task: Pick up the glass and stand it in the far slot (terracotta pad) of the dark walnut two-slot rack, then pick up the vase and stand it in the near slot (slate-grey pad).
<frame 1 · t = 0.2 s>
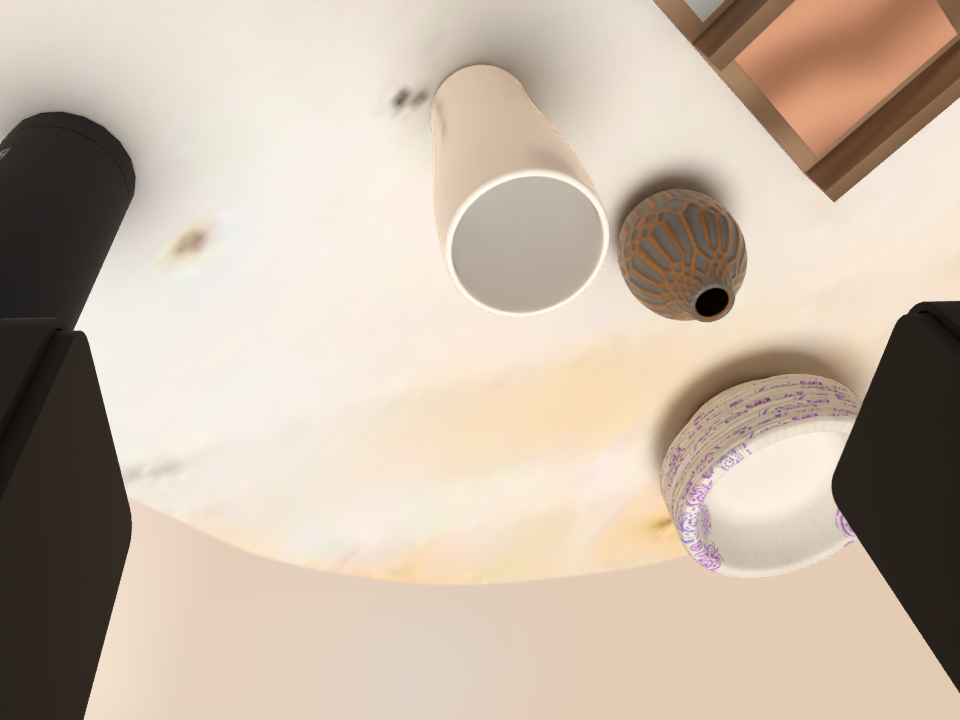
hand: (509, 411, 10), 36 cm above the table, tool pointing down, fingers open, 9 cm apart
paper bowls: (745, 427, 62), on the table
vase: (660, 223, 51), on the table
wine bottle: (71, 169, 44), on the table
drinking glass: (478, 110, 45), on the table
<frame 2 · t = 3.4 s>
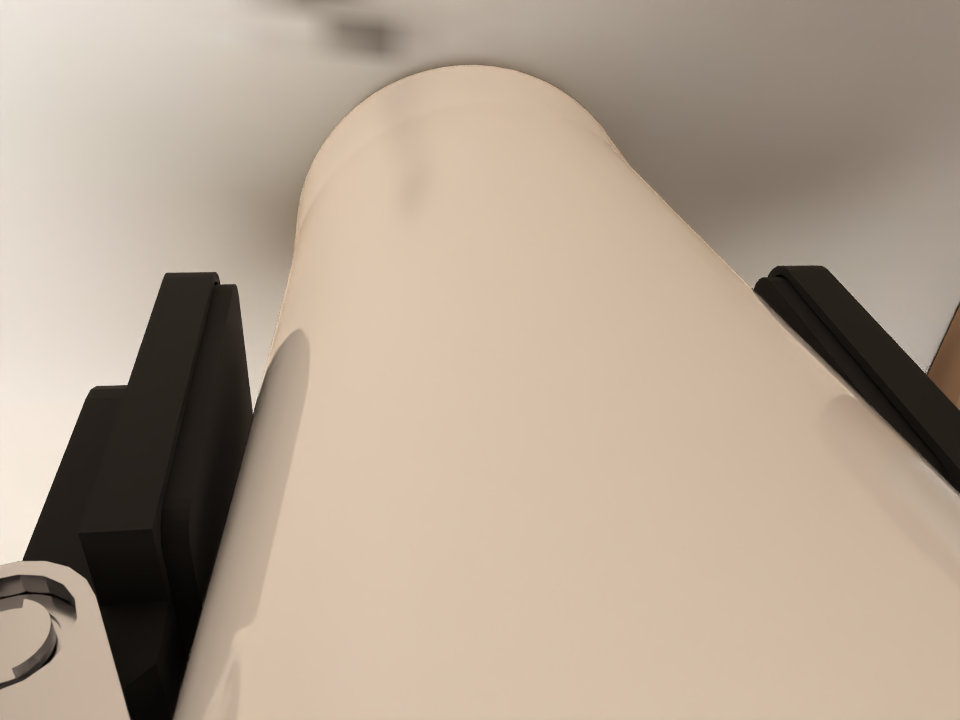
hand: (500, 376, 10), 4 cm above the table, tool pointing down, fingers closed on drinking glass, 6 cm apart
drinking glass: (460, 209, 14), on the table, touching gripper
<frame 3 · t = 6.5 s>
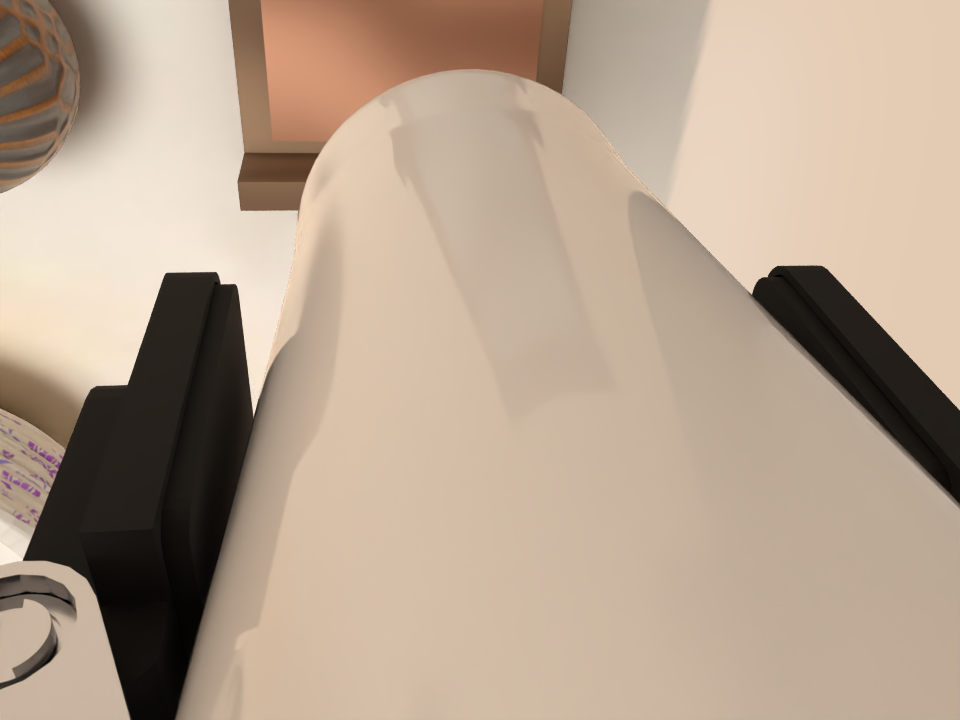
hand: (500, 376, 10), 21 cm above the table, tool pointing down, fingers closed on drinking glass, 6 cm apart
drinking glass: (460, 213, 14), point 17 cm above the table, touching gripper
when the fingers open (7 cm above the table, at t = 9.7 s): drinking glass drops 1 cm, resting on slot rack.
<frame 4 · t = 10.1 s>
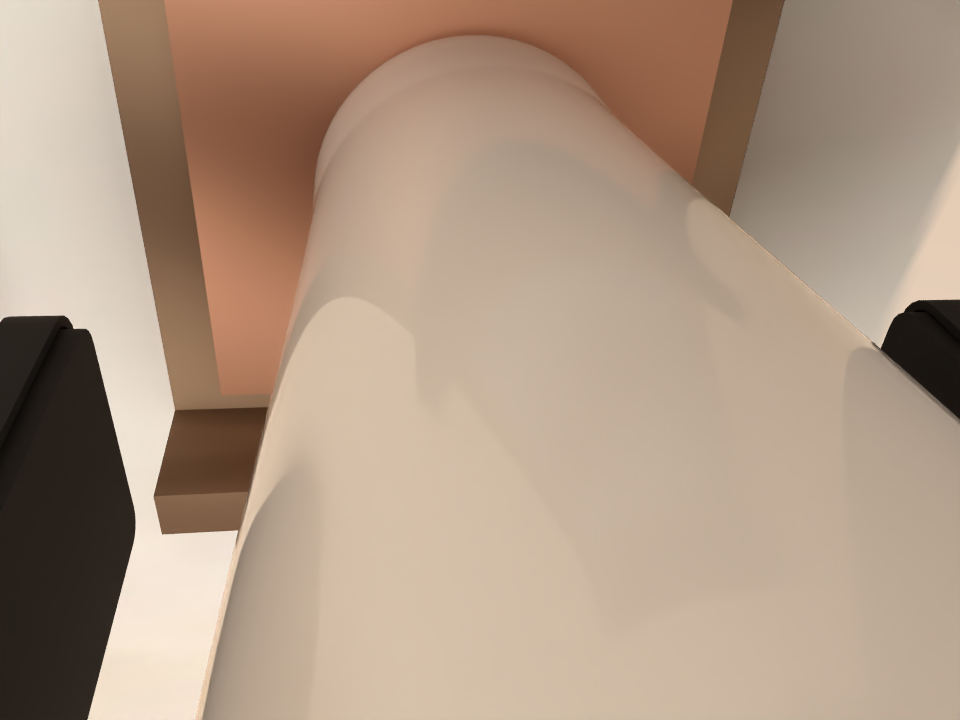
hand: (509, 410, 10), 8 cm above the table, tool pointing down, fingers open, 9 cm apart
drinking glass: (465, 174, 15), point 1 cm above the table, touching slot rack
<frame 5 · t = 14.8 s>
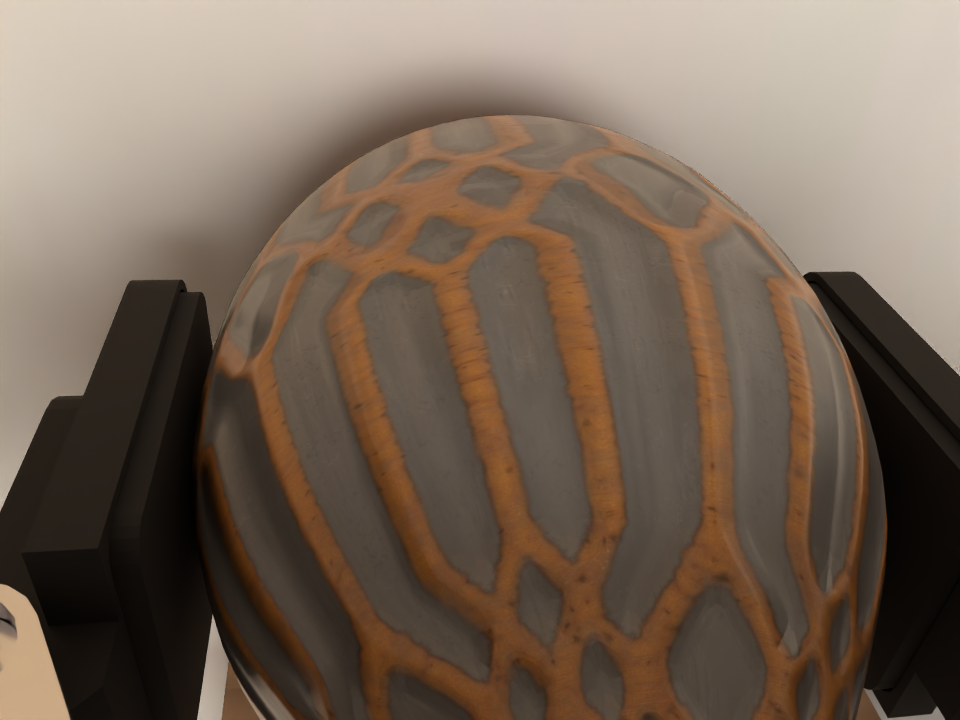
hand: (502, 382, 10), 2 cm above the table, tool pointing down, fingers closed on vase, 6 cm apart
vase: (476, 280, 12), on the table, touching gripper
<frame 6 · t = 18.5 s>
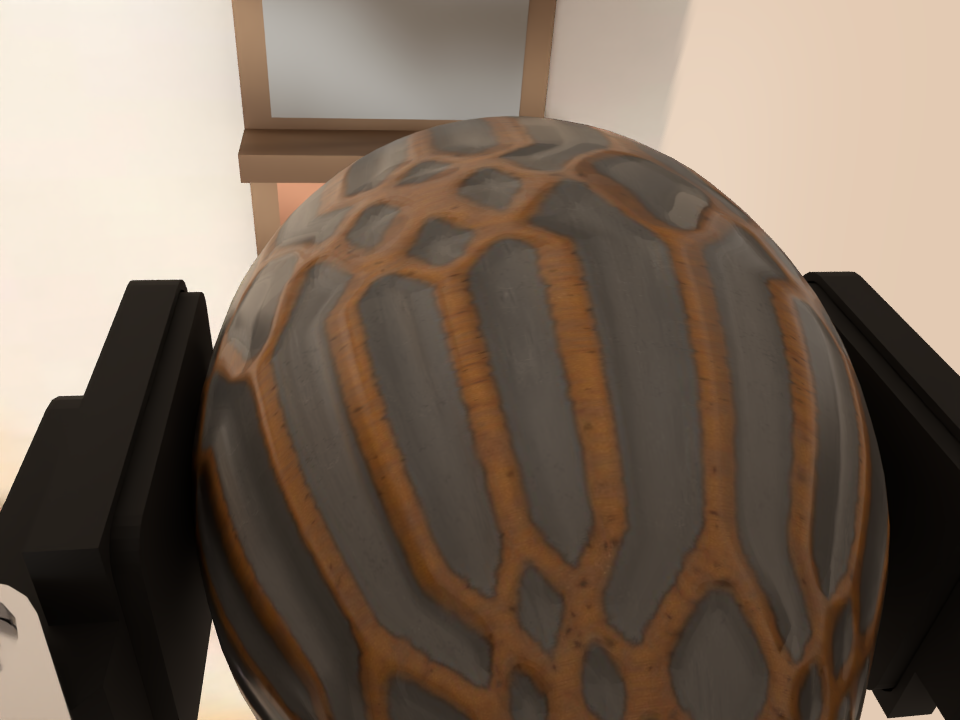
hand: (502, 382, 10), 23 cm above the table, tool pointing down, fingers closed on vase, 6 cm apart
slot rack: (395, 133, 32), on the table
vase: (477, 281, 12), point 21 cm above the table, touching gripper
when the fingers open (5 cm above the table, at t = 22.5 s): vase drops 1 cm, resting on slot rack.
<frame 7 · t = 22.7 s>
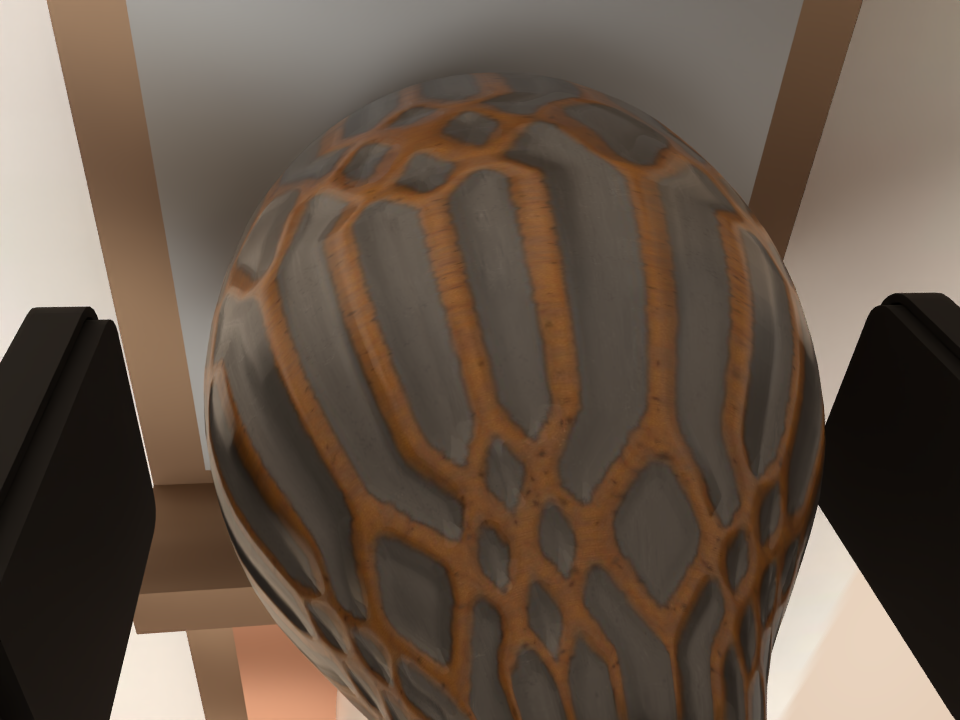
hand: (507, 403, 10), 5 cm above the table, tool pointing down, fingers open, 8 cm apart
slot rack: (445, 456, 17), on the table
vase: (467, 235, 13), point 1 cm above the table, touching slot rack
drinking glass: (452, 655, 20), point 1 cm above the table, touching slot rack
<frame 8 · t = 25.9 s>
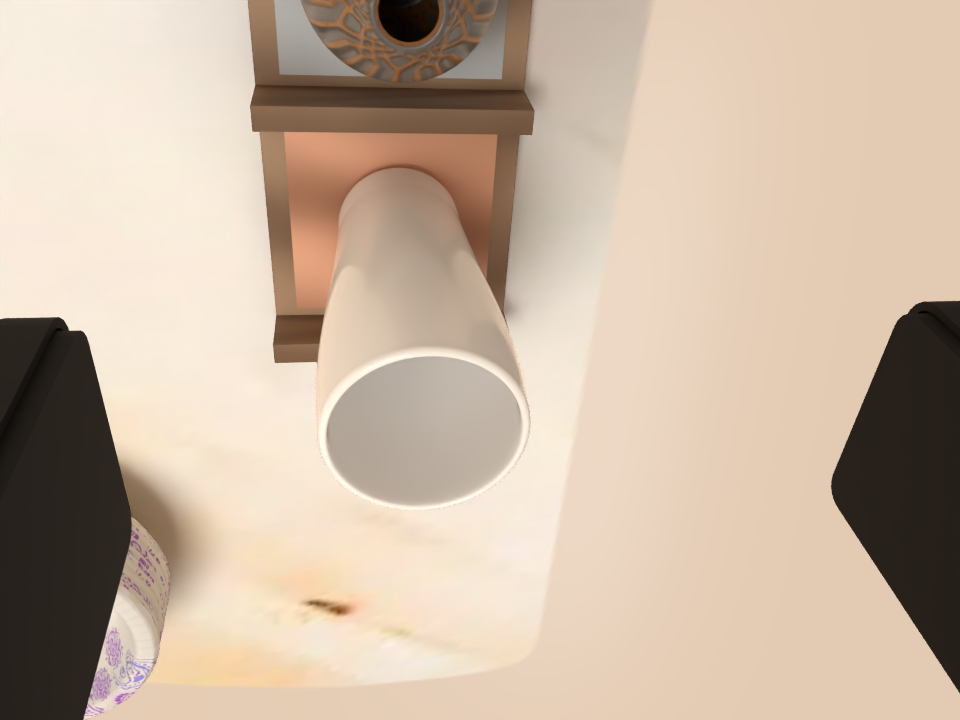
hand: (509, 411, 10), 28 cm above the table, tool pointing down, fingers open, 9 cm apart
slot rack: (391, 91, 36), on the table
paper bowls: (40, 530, 48), on the table
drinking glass: (398, 216, 38), point 1 cm above the table, touching slot rack
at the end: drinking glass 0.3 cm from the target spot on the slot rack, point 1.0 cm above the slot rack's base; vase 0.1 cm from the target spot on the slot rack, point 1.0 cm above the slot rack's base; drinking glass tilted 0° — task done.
